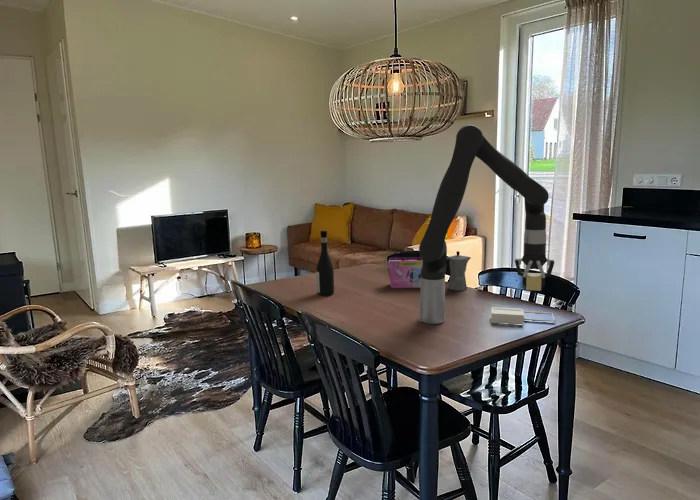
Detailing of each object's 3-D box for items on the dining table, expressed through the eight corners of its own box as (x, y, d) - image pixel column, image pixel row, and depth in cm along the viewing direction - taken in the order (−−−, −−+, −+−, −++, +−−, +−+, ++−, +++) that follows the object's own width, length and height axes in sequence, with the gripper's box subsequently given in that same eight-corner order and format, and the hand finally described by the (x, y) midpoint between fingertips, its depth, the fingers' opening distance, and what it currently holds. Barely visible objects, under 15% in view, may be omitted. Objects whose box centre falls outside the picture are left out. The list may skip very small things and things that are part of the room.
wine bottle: (314, 296, 236) (312, 232, 231) (320, 291, 244) (317, 229, 238) (331, 297, 234) (329, 232, 229) (336, 292, 242) (334, 229, 236)
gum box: (388, 288, 247) (388, 261, 245) (387, 284, 255) (386, 257, 252) (437, 287, 247) (438, 259, 245) (435, 283, 255) (435, 256, 252)
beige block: (526, 290, 185) (526, 276, 184) (526, 285, 191) (526, 272, 190) (541, 290, 184) (541, 276, 183) (540, 286, 189) (540, 273, 188)
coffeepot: (465, 284, 250) (466, 248, 247) (474, 289, 241) (475, 252, 238) (436, 287, 247) (436, 250, 243) (444, 292, 238) (445, 254, 234)
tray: (524, 321, 194) (524, 318, 194) (522, 313, 204) (522, 311, 203) (555, 323, 191) (555, 320, 191) (552, 315, 201) (552, 312, 200)
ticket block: (491, 325, 191) (491, 314, 190) (491, 316, 201) (491, 306, 200) (523, 327, 188) (524, 316, 187) (522, 318, 198) (522, 308, 197)
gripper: (514, 242, 183) (512, 288, 186) (557, 243, 179) (555, 290, 182) (514, 239, 190) (513, 283, 193) (555, 240, 186) (553, 285, 189)
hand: (533, 286), depth 187 cm, fingers closed on beige block, 5 cm apart
